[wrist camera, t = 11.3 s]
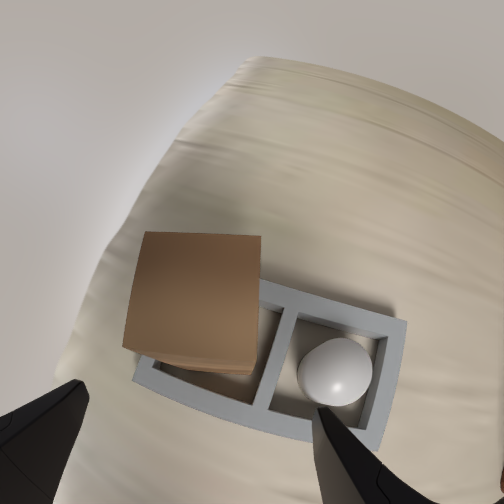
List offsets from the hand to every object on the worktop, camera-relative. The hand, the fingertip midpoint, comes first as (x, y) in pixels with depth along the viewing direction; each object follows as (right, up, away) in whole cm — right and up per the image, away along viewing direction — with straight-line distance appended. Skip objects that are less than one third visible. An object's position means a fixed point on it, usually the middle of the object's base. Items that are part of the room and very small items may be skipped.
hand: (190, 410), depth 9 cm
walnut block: (0, -1, +10) cm, 10 cm away
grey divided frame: (+4, -2, +10) cm, 11 cm away
